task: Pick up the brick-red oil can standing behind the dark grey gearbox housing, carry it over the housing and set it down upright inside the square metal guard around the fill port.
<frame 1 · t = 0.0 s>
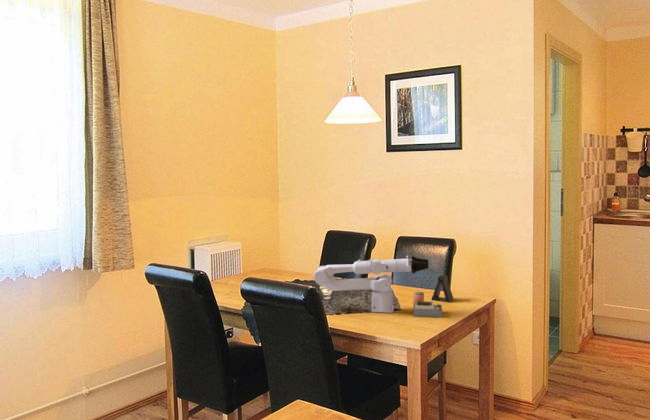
hand: (428, 263, 246), 22 cm above the table, tool horizontal, fingers open, 7 cm apart
phone stand: (442, 300, 268), on the table
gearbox: (427, 313, 246), on the table
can: (418, 308, 255), on the table
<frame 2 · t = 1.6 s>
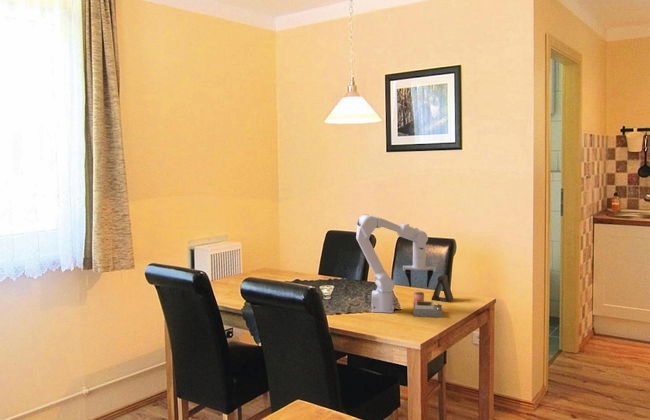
hand: (418, 286, 254), 10 cm above the table, tool pointing down, fingers open, 7 cm apart
nothing on the table moved.
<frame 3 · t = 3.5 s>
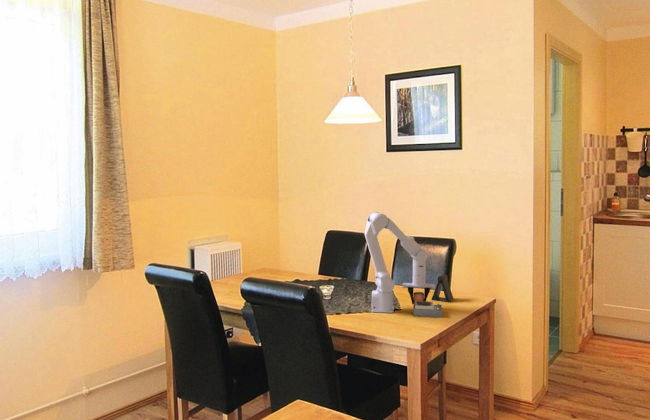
hand: (418, 303, 254), 2 cm above the table, tool pointing down, fingers closed on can, 5 cm apart
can: (418, 308, 255), on the table, touching gripper
everything else where it was.
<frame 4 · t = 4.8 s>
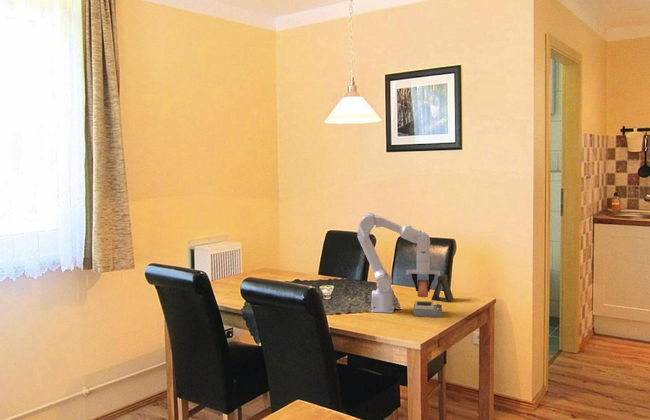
hand: (422, 291, 247), 9 cm above the table, tool pointing down, fingers closed on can, 5 cm apart
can: (422, 296, 248), point 7 cm above the table, touching gripper
everything else where it was.
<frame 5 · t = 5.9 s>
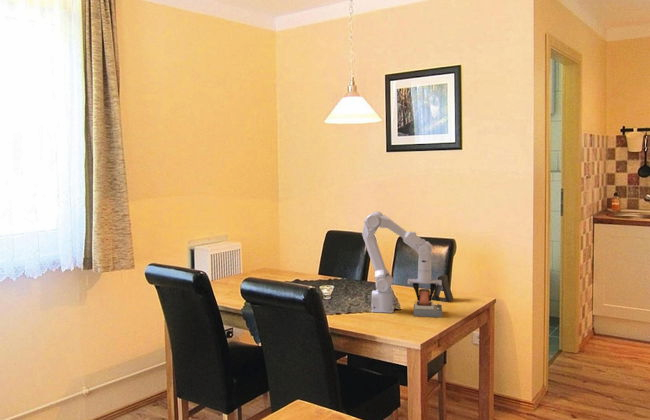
hand: (424, 300, 245), 6 cm above the table, tool pointing down, fingers closed on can, 5 cm apart
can: (424, 305, 246), point 4 cm above the table, touching gripper
everything else where it was.
when the fingers open (6 cm above the table, at t = 6.5 s): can stays where it is, resting on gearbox.
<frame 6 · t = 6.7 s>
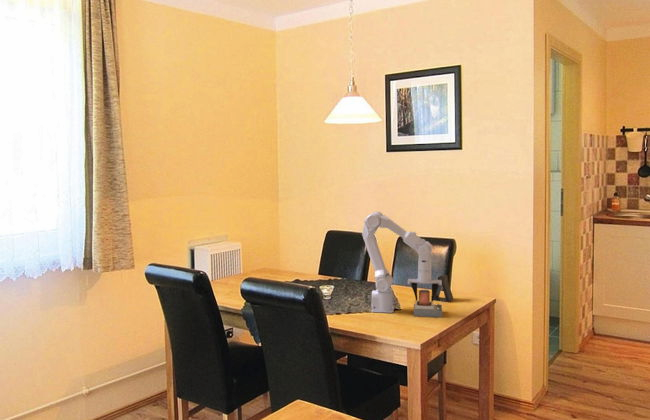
hand: (424, 300, 245), 6 cm above the table, tool pointing down, fingers open, 6 cm apart
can: (424, 306, 246), point 3 cm above the table, touching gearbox
everything else where it was.
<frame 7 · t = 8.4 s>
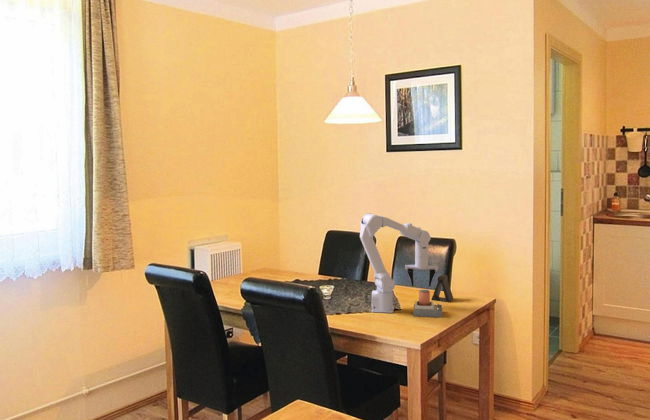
hand: (421, 285, 255), 10 cm above the table, tool pointing down, fingers open, 7 cm apart
nothing on the table moved.
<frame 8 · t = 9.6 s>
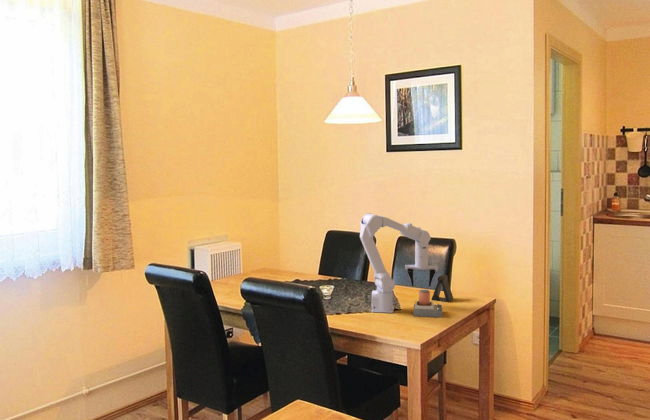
hand: (421, 285, 255), 10 cm above the table, tool pointing down, fingers open, 7 cm apart
nothing on the table moved.
at the end: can 0.2 cm from the target spot on the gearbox, point 3.1 cm above the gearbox's base; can tilted 0°; the gripper is holding nothing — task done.
